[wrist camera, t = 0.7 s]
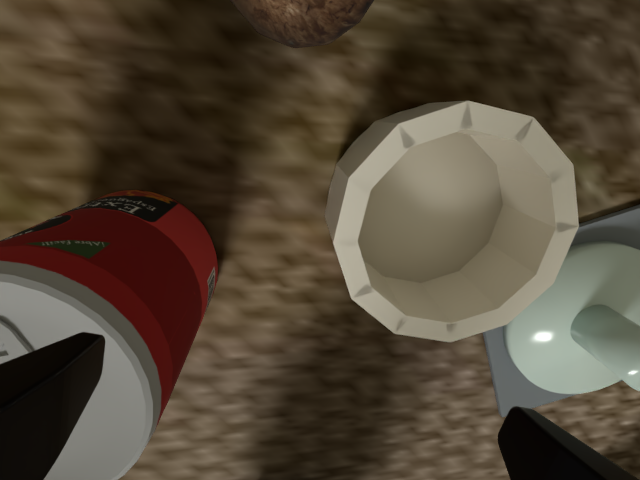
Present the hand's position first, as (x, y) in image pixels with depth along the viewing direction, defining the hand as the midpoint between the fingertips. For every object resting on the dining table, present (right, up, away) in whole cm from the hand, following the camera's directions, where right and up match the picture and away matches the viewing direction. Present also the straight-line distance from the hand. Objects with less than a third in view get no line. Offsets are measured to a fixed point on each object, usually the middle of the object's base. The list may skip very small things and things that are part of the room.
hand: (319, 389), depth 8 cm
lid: (+16, -2, +15) cm, 22 cm away
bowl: (+6, +5, +13) cm, 15 cm away
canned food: (-9, +2, +13) cm, 16 cm away
